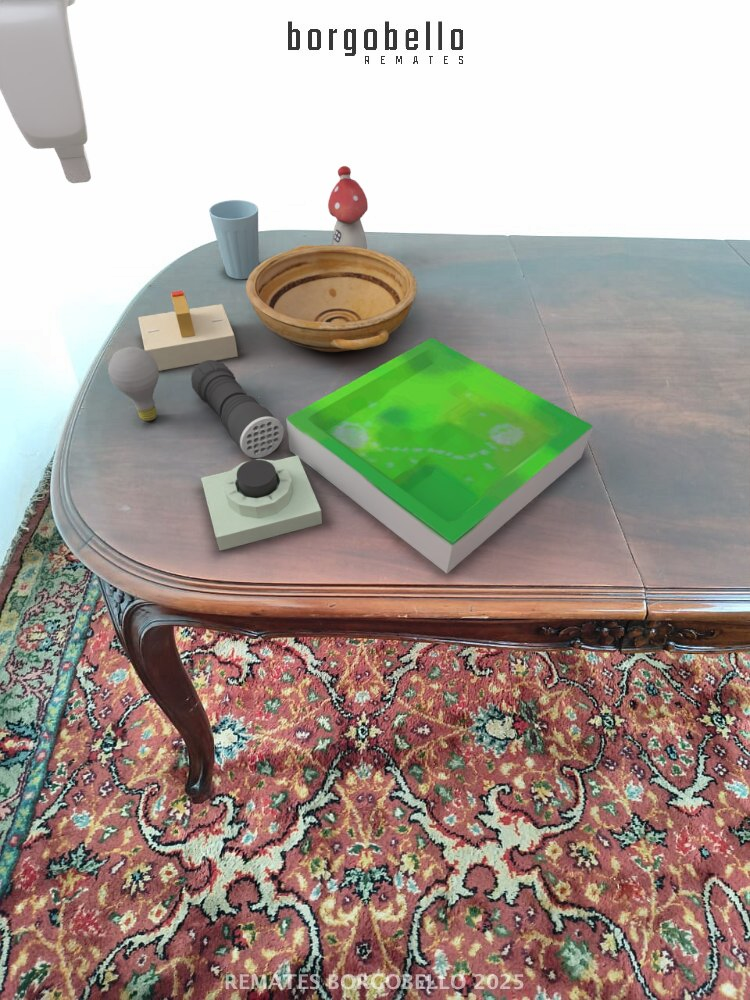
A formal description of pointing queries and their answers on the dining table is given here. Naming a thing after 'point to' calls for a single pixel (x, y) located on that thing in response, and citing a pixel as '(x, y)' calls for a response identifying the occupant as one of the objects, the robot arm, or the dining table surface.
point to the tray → (438, 448)
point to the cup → (237, 236)
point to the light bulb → (136, 378)
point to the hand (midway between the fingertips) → (79, 176)
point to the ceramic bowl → (332, 296)
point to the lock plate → (178, 351)
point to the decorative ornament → (348, 211)
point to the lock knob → (182, 314)
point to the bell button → (257, 478)
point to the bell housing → (261, 505)
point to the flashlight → (237, 409)
